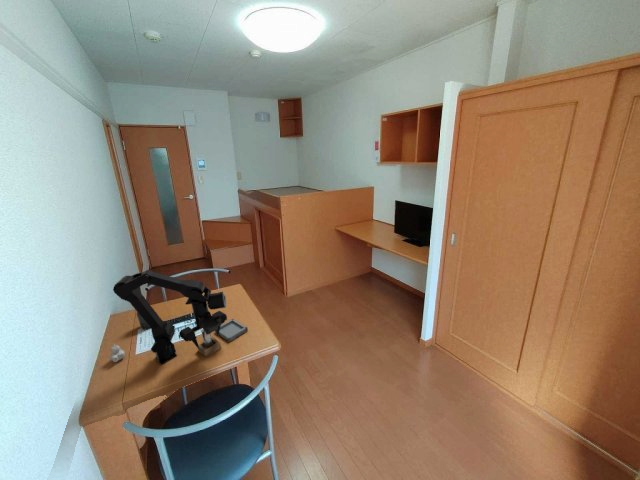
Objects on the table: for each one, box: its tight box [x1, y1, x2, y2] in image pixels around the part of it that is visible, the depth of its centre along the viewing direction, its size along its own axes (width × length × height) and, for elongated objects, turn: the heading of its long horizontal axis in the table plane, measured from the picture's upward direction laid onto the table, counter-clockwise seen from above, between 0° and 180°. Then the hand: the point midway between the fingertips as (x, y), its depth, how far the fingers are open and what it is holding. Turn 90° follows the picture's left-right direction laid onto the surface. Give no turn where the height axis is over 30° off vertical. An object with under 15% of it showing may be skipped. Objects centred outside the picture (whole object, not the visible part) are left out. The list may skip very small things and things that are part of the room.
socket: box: [197, 336, 222, 358], centre depth 121 cm, size 7×7×3 cm
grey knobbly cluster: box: [108, 343, 126, 363], centre depth 118 cm, size 5×7×8 cm
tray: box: [219, 318, 248, 343], centre depth 133 cm, size 10×12×2 cm
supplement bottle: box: [136, 311, 151, 330], centre depth 140 cm, size 7×7×12 cm
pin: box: [201, 328, 213, 349], centre depth 120 cm, size 3×3×10 cm
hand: (207, 341), depth 121 cm, fingers open, 9 cm apart
